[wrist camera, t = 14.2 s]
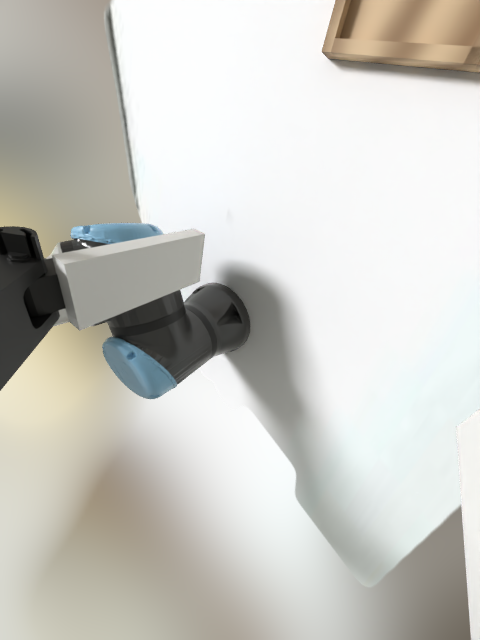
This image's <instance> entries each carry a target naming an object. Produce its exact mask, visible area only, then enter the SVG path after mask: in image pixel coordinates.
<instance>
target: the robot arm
mask: <svg viewBox="0 0 480 640" xmlns="http://www.w3.org/2000/svg"><path fill="white" fill-rule="evenodd" d="M71 238H72V239H74V240H71V241H65V242H60V243H57V244H56V246H55V248H54V250H53V251H52V253H51V255H50V256H48V257H47V258H44V257H43V253H42V250H41V246H40V243H39V239H38V235H37V233H36V231H34V230H32V229H29V228H25V227H0V390H1V389H2V388H3V387H4V386H5V384H6V383H7V381H9V379H10V378H11V377H12V376H13V374H14V373H15V372H16V371H17V370H18V368H19V367H20V366H21V365H22V364H23V362H24V361H25V360H26V359H27V357H28V356H29V355H30V354H31V352H32V351H33V350H34V349H35V348H36V346H37V345H38V344H39V343H40V341H41V340H42V339H43V338H44V337H45V335H46V334H47V333H48V331H49V330H50V329H51V328H52V327H53V326H56V325H60V324H63V323H67V322H70V323H72V324H73V325H74V326H75V327H76V328H77V329H78V330H82V329H85V328H87V327H89V326H95V325H99V324H102V323H105V322H107V323H108V325H109V327H110V330H111V332H112V336H113V337H109V338H108V339H107V340H106V341H105V342H104V343H103V346H102V348H103V354H104V357H105V359H106V361H107V363H108V364H109V366H110V368H111V369H112V370H113V372H114V373H115V374H116V376H117V377H118V378H119V379H120V380H121V381H122V382H123V383H124V384H125V385H126V386H127V387H128V388H129V389H130V390H132V391H133V392H134V393H136V394H137V395H139V396H141V397H143V398H147V399H155V398H158V397H160V396H162V395H163V394H165V393H166V392H168V391H169V390H171V389H173V388H175V387H176V386H177V384H179V383H180V382H181V381H182V380H184V379H185V378H186V377H188V376H189V375H190V374H191V373H193V372H194V371H195V370H197V369H198V368H199V367H201V366H202V365H203V364H204V363H206V362H207V361H208V360H209V359H211V358H212V357H213V356H217V355H220V354H223V353H226V352H231V351H234V350H236V349H238V348H239V347H240V346H241V345H243V344H244V343H245V342H246V340H247V338H248V336H249V332H250V321H249V316H248V313H247V310H246V308H245V306H244V304H243V302H242V301H241V299H240V298H239V297H238V296H237V295H236V294H235V293H234V292H233V291H232V290H231V289H229V288H228V287H226V286H224V285H222V284H219V283H208V284H205V285H203V286H200V287H199V288H197V289H196V290H195V291H194V292H193V293H192V294H191V295H190V296H189V297H188V298H187V299H186V301H185V302H183V299H182V295H181V292H180V289H182V288H185V287H187V286H190V285H192V284H195V283H197V282H199V281H200V272H201V264H202V255H203V246H204V238H205V234H204V233H202V232H200V231H198V230H195V229H190V230H185V231H179V232H174V233H168V234H163V232H162V231H161V230H160V229H159V228H158V227H156V226H154V225H151V224H141V223H140V224H139V223H113V224H96V225H88V226H77V227H74V228H72V230H71ZM456 434H457V448H458V462H459V476H460V490H461V504H462V518H463V531H464V547H465V560H466V573H467V574H466V575H467V589H468V601H469V615H470V616H469V617H470V631H471V640H480V409H479V410H478V411H476V412H475V413H474V414H473V415H471V416H470V417H469V418H467V419H466V420H465V421H463V422H462V423H461V424H460V425H458V426H457V427H456Z"/></svg>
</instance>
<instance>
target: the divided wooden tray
mask: <svg viewBox="0 0 480 640" xmlns="http://www.w3.org/2000/svg"><path fill="white" fill-rule="evenodd" d="M322 52H323V54H324V55H325V56H326V57H327V58H328V59H339V60H349V61H360V62H371V63H382V64H392V65H403V66H414V67H425V68H435V69H446V70H457V71H468V72H478V73H480V0H336V1H335V5H334V8H333V12H332V16H331V19H330V23H329V27H328V30H327V34H326V38H325V41H324V45H323V49H322Z"/></svg>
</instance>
